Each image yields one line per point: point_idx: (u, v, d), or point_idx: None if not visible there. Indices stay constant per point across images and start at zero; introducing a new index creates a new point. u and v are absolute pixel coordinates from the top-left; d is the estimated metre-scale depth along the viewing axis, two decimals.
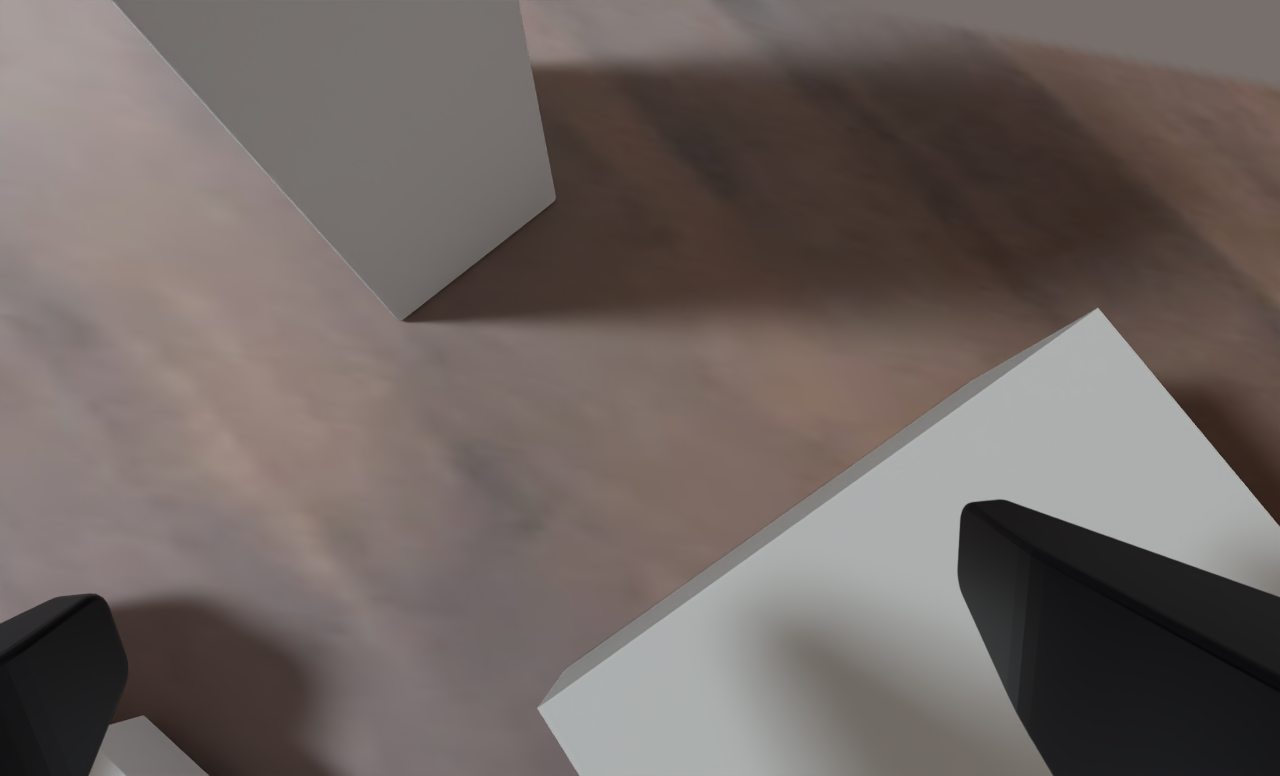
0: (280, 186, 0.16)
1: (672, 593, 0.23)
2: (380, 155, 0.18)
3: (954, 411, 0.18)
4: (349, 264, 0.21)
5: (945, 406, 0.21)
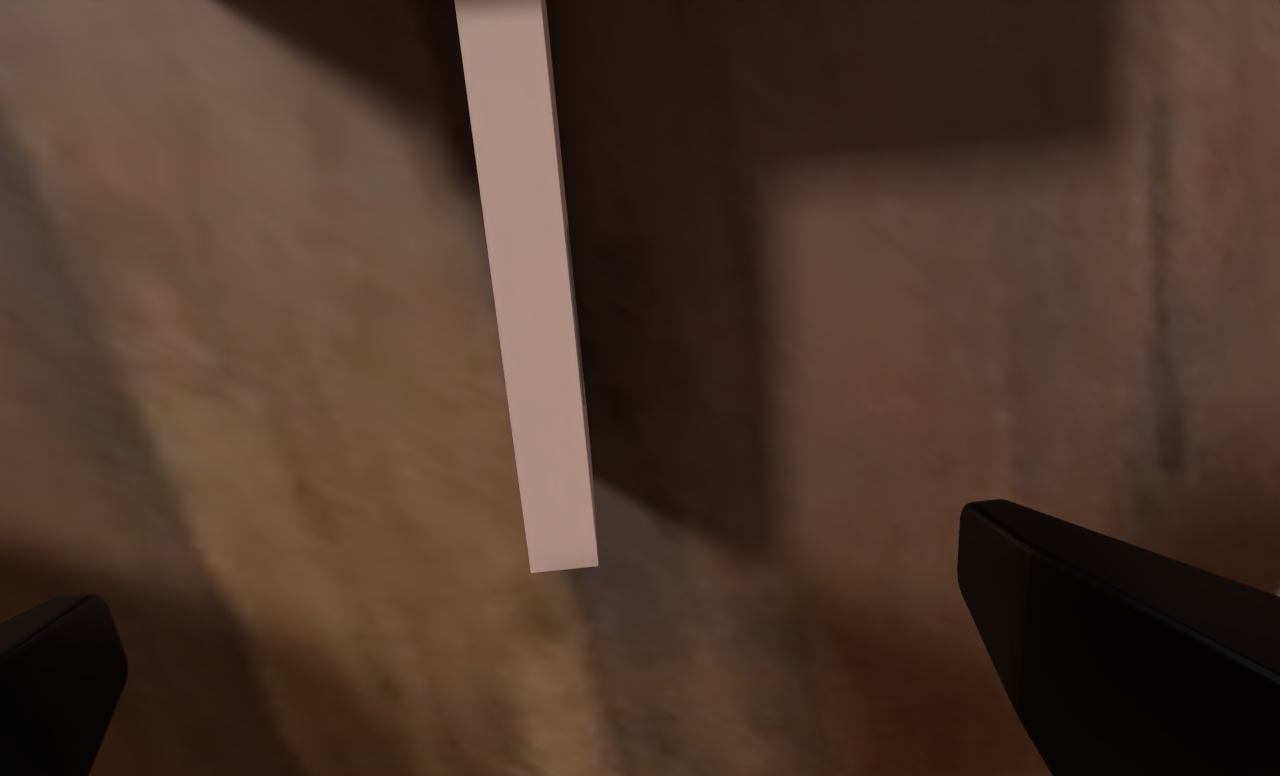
0: None
1: None
2: None
3: None
4: None
5: None
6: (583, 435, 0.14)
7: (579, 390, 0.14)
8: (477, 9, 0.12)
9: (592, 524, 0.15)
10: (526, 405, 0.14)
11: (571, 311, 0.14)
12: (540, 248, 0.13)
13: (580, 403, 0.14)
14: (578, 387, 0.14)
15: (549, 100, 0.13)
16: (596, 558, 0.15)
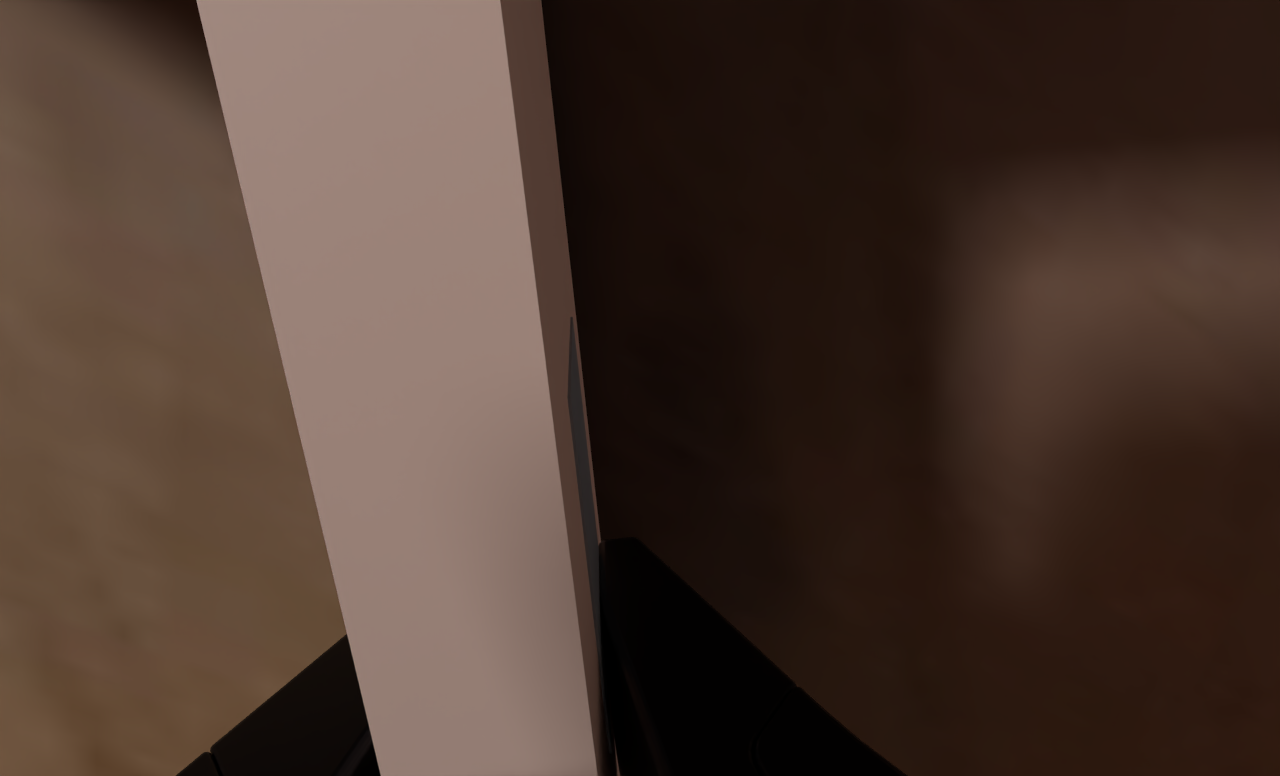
0: None
1: None
2: None
3: None
4: None
5: None
6: None
7: None
8: None
9: None
10: None
11: (577, 636, 0.05)
12: (478, 468, 0.04)
13: None
14: None
15: None
16: None
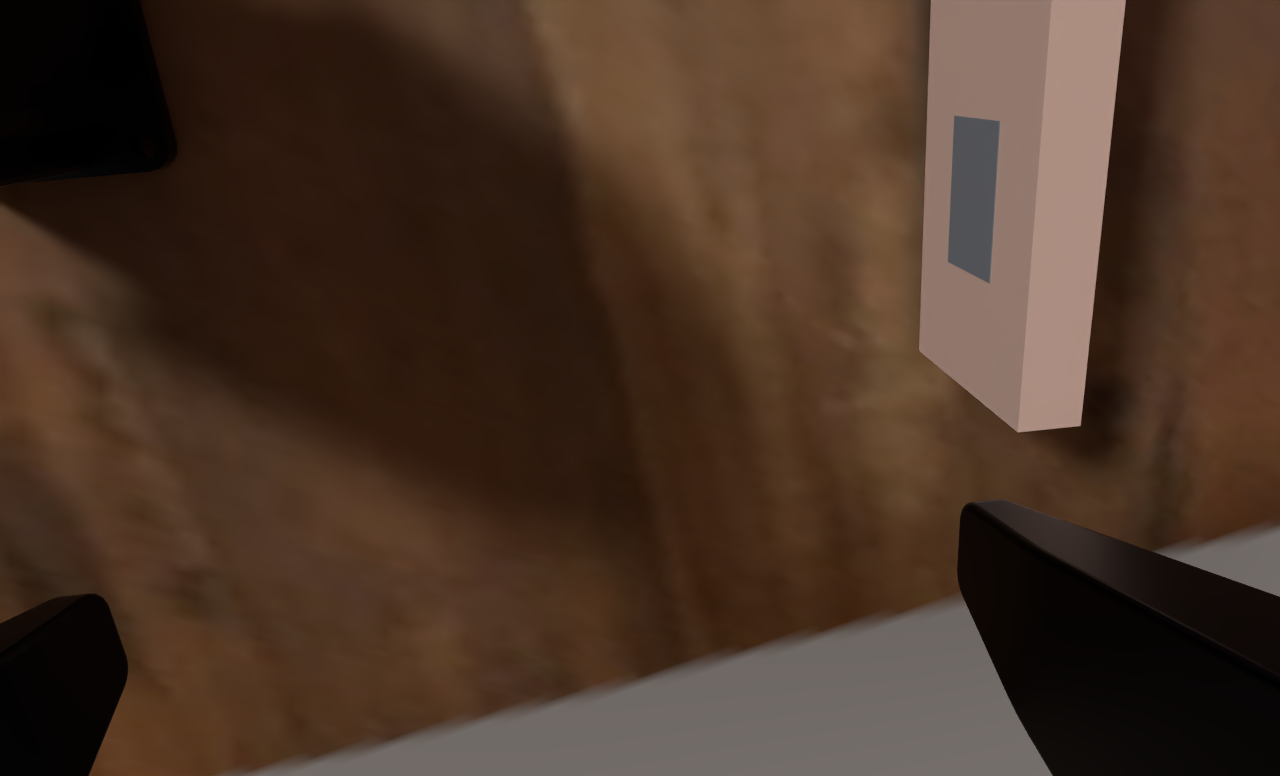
0: None
1: None
2: None
3: None
4: None
5: None
6: (1094, 294, 0.15)
7: (1096, 249, 0.15)
8: None
9: (1084, 383, 0.16)
10: (1047, 263, 0.15)
11: (1105, 170, 0.15)
12: (1091, 106, 0.14)
13: None
14: (1099, 245, 0.15)
15: None
16: (1079, 418, 0.16)
